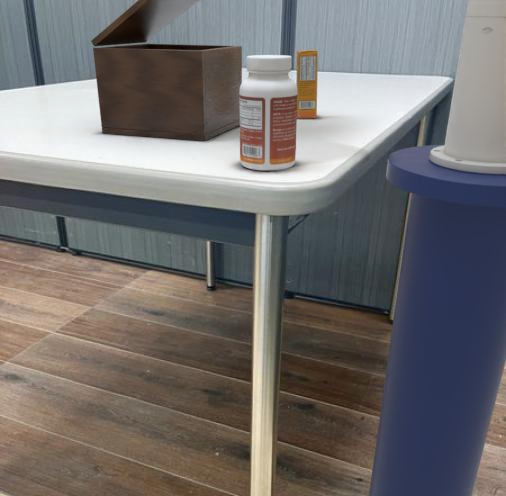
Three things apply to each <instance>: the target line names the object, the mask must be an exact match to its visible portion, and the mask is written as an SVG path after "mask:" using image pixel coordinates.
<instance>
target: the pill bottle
mask: <svg viewBox="0 0 506 496" xmlns="http://www.w3.org/2000/svg"><path fill="white" fill-rule="evenodd" d="M245 61H246V63H245V64H246V66H245V67H246V72H247V73H248V77H247V78H246V79H244V80H242V83H241V85H240V93H239V97H240V125H239V161H240V164H241V166H242V167H245V168H247V169H249V170H254V171H266V172H267V171H280V170H281V171H282V170H286V169H290V168H292V167H293V166H294V165H295V163H296V155H297V154H296V153H297V125H298V123H297V122H298V118H297V97H298V94H297V86H296V82H295V81H294V80H293V79H291V78H290V76H289V73H291V71H292V66H293V65H292V61H293V60H292V55H287V54H285V55H284V54H255V55H247V56H246V60H245Z"/></svg>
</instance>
